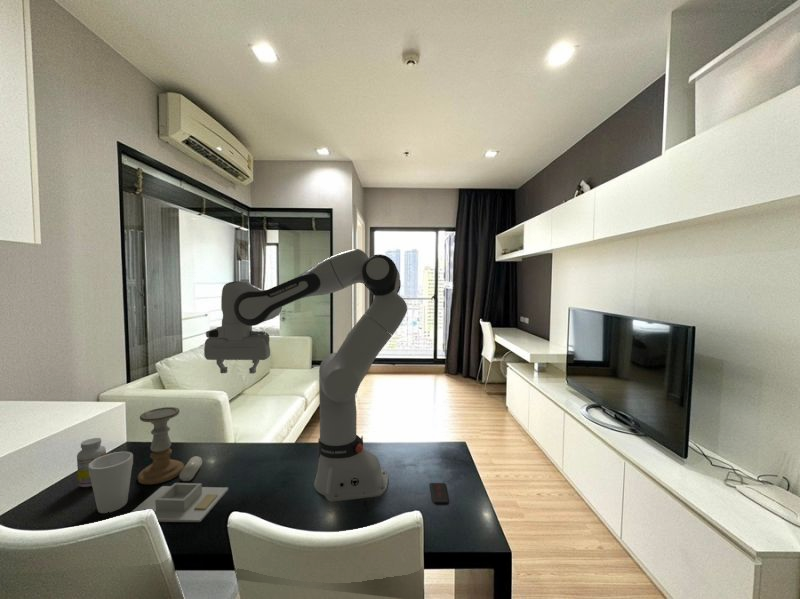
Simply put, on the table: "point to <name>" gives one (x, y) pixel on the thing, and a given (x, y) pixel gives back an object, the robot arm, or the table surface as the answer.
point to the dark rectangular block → (439, 493)
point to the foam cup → (111, 480)
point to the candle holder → (160, 448)
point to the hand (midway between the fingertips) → (238, 373)
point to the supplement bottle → (88, 459)
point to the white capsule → (190, 468)
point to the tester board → (183, 502)
